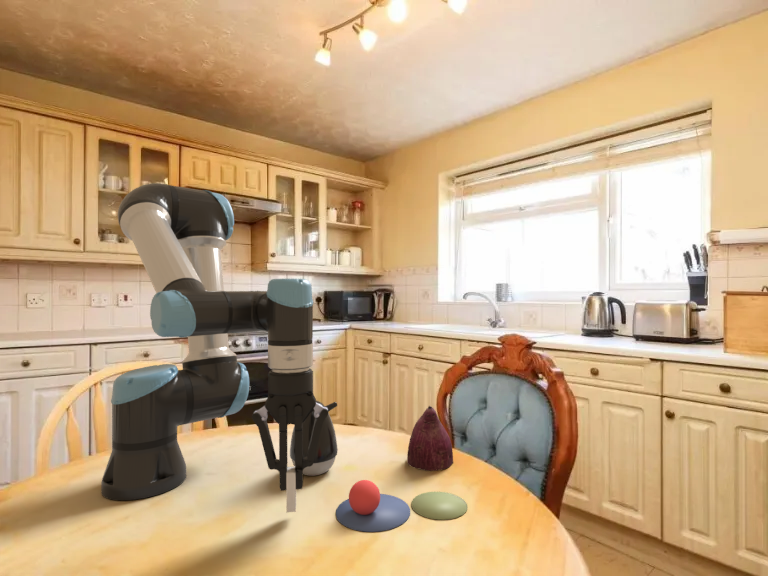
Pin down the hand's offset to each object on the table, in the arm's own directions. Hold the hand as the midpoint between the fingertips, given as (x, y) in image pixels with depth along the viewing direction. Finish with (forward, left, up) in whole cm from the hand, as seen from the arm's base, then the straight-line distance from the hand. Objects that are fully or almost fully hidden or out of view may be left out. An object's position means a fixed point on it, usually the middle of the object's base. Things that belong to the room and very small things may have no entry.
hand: (291, 508), depth 73 cm
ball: (+12, 0, +1) cm, 13 cm away
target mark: (+14, 0, -2) cm, 14 cm away
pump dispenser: (+4, +20, -2) cm, 21 cm away
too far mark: (+26, 0, -2) cm, 26 cm away
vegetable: (+30, +20, -2) cm, 36 cm away
